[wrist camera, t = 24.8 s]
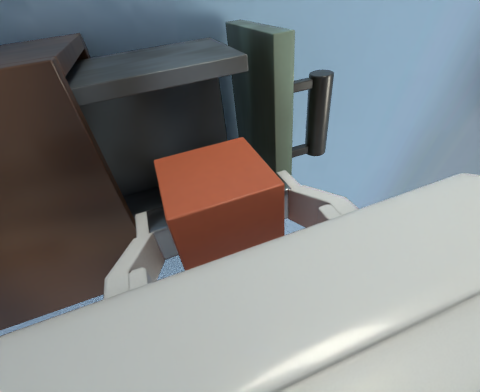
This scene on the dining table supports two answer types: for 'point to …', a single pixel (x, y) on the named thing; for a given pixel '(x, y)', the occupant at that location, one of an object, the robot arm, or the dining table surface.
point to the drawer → (197, 103)
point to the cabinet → (52, 187)
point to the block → (219, 201)
